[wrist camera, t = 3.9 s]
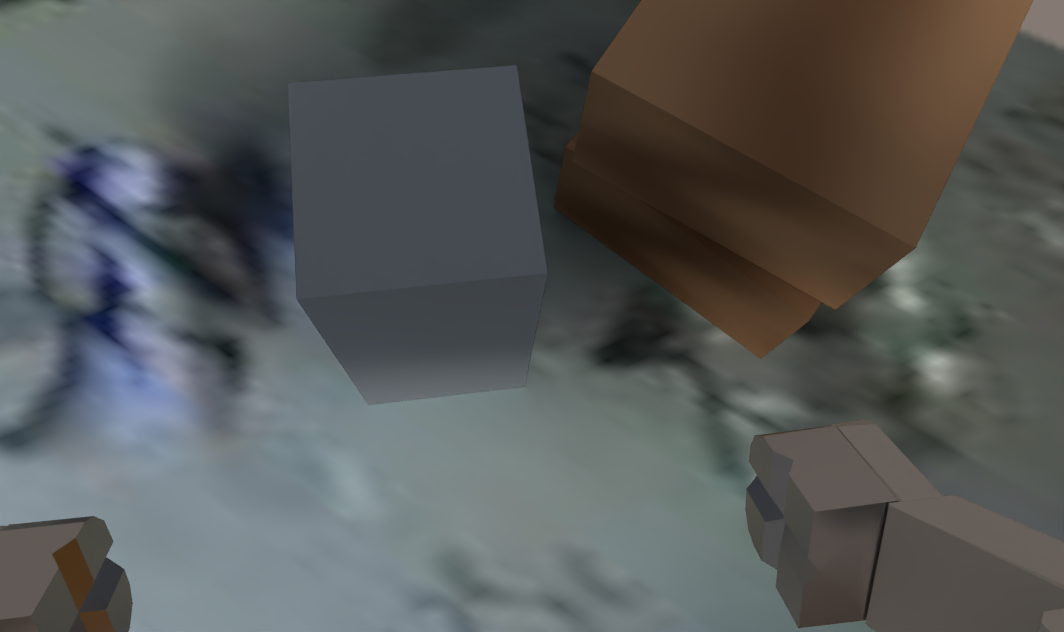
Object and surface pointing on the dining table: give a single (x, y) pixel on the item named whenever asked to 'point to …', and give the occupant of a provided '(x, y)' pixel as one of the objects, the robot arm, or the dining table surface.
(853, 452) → the robot arm
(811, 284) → the tower top
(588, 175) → the tower base
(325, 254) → the pillar
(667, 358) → the dining table surface
